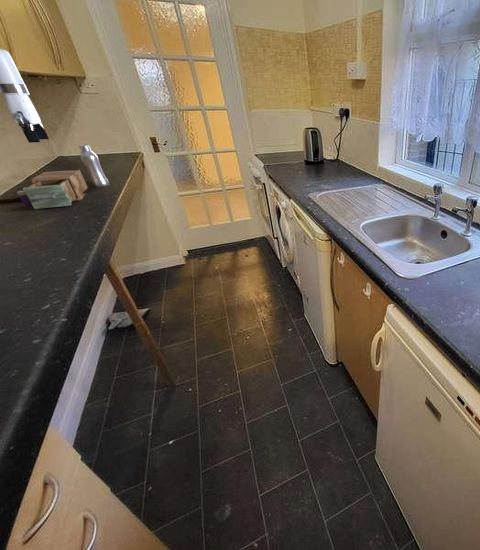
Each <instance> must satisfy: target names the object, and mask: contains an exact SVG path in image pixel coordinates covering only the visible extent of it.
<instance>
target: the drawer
mask: <svg viewBox="0 0 480 550" xmlns="http://www.w3.org/2000/svg"><path fill="white" fill-rule="evenodd" d="M22 191H24V192H25V194H26V195H27V197H28V199H29V200H30V202H31V204H32V205H31V206H32V207H33V209H34V210H38V209H39V210H40V209H49V208H59V207H69V206H72V205H73V203H72V202H73V201H75V200H74V199H75V198H76V197H77V194H76V192H75V190H74V188H73V186H72V184H71V182H70V180H69V179H57V180H44V181H37V182H35V183H34V184H33V183H32V184H30V185H28V186H24V187H22Z"/></svg>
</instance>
